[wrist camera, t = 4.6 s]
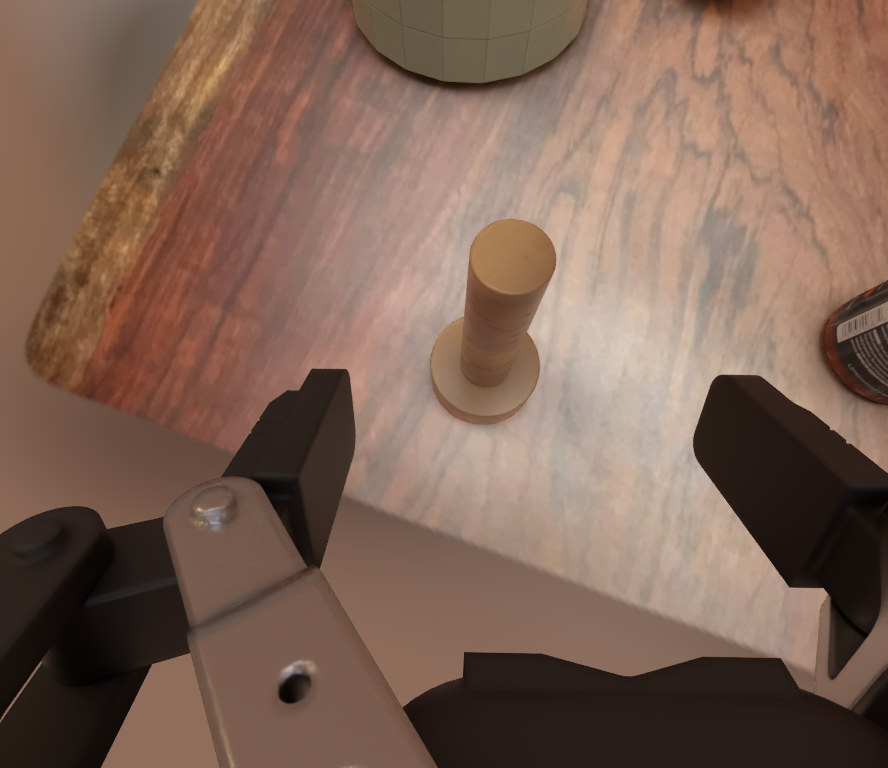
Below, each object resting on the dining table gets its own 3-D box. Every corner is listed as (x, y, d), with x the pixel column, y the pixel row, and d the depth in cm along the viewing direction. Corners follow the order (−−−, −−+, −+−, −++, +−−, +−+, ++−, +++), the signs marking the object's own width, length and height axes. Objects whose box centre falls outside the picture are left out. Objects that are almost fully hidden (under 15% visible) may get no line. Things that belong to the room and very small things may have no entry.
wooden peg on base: (411, 381, 24) (380, 267, 13) (474, 309, 25) (496, 146, 14) (490, 445, 23) (532, 384, 12) (552, 368, 24) (645, 244, 13)
